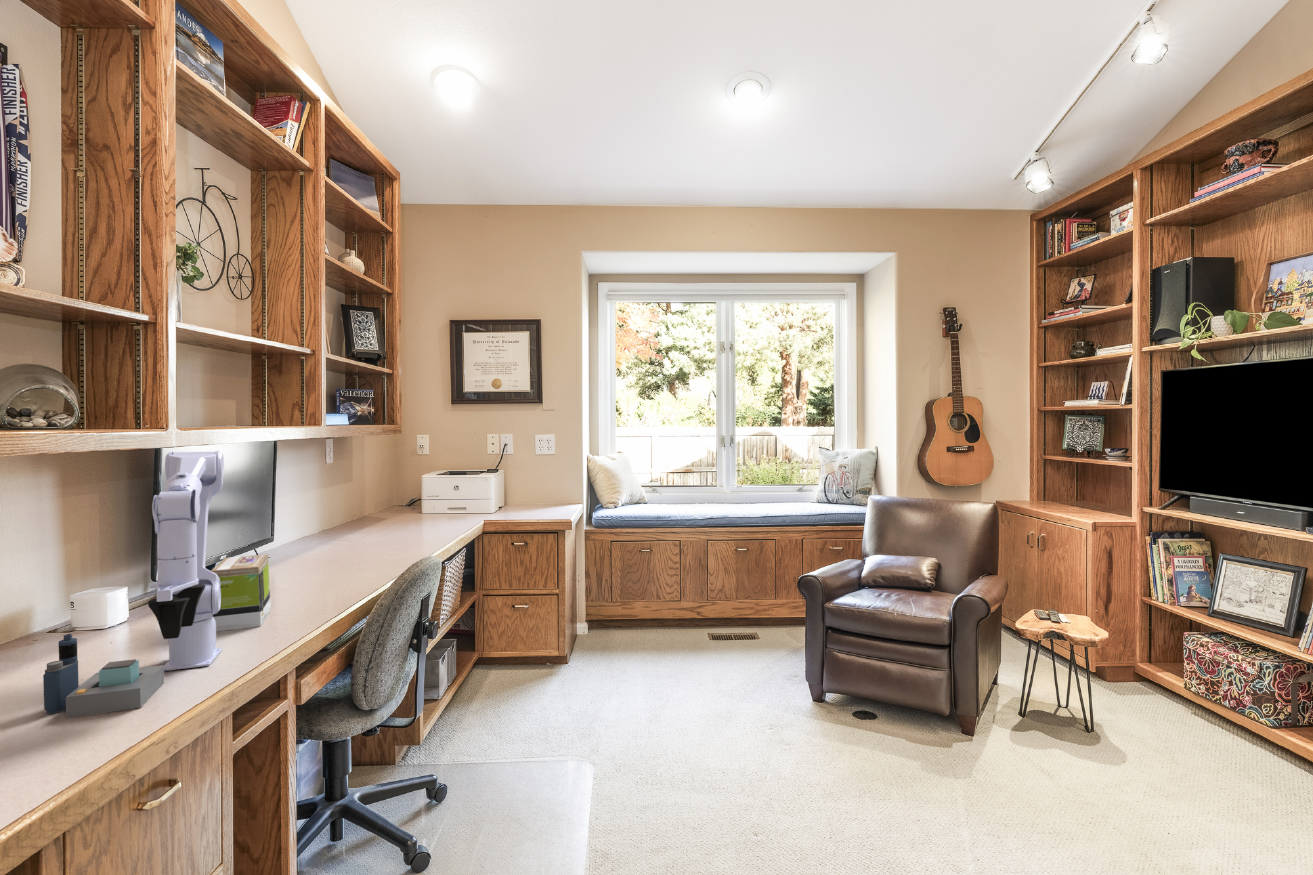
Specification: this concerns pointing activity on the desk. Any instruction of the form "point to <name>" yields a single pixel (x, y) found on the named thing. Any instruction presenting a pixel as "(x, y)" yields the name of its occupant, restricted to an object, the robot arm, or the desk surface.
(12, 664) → the desk surface
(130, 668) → the plug
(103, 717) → the desk surface
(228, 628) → the tea box
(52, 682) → the vaping device
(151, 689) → the socket
